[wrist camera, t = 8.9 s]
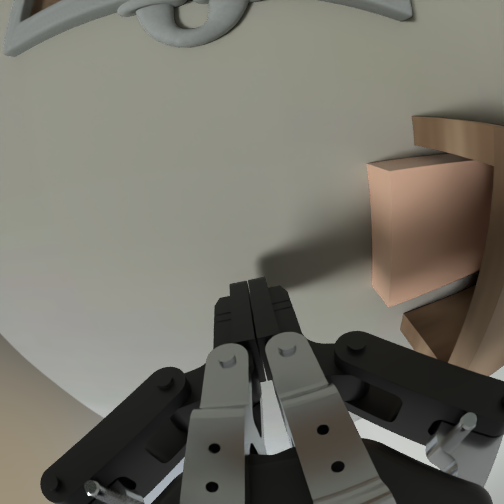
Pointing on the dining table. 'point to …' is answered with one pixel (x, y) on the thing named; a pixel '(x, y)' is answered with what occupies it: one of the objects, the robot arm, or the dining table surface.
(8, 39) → the grey framed board
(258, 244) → the dining table surface
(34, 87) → the dining table surface
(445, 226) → the tile
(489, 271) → the cubby
